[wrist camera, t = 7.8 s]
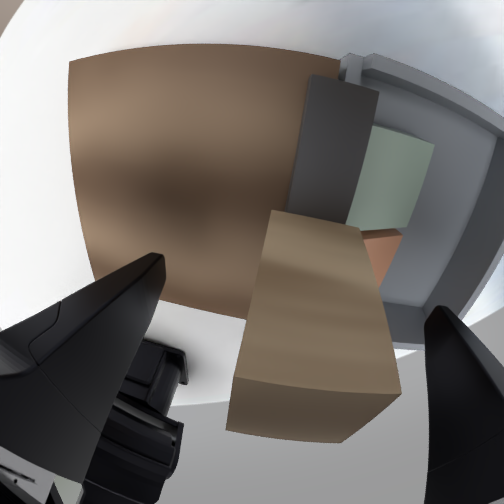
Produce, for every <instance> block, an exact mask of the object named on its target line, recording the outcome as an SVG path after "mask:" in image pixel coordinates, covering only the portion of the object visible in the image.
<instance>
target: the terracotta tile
mask: <svg viewBox="0 0 504 504" xmlns="http://www.w3.org/2000/svg"><path fill="white" fill-rule="evenodd" d="M360 232H361V235H362V237H363V240H364V243H365V246H366V249H367V252H368V255H369V258H370V262H371V265H372V268H373V271H374V275H375V278H376V281H377V285H378V288H379V287H380V285H381V283H382V281H383V279H384V277H385V275H386V272H387V270H388V268H389V266H390V264H391V262H392V260H393V258H394V255H395V253H396V251H397V249H398V246H399V244H400V242H401V239H402V237H403V235H402V234H401V233H400V232H399V231H398V230H396V229H395V228H390V229H378V230H366V231H360Z"/></svg>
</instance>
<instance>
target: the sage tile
mask: <svg viewBox="0 0 504 504" xmlns="http://www.w3.org/2000/svg"><path fill="white" fill-rule="evenodd" d="M434 146H435V145H434V144H432V143H430V142H428V141H426V140H424V139H421V138H419V137H417V136H415V135H412V134H409V133H406V132H403V131H400V130H397V129H393V128H390V127H387V126H383V125H380V124H376V123H373V126H372V130H371V134H370V139H369V143H368V147H367V151H366V155H365V159H364V162H363V166H362V170H361V174H360V177H359V181H358V184H357V188H356V191H355V195H354V198H353V202H352V205H351V208H350V211H349V215H348V218H347V221H346V224H345V225H349V226H354V227H358V228H359V229H360V231H366V230H378V229H390V228H402V227H407V225H408V222H409V220H410V217H411V215H412V212H413V210H414V207H415V204H416V202H417V199H418V196H419V193H420V190H421V188H422V185H423V182H424V179H425V176H426V173H427V169H428V166H429V163H430V160H431V156H432V153H433V149H434Z"/></svg>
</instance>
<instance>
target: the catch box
mask: <svg viewBox="0 0 504 504" xmlns="http://www.w3.org/2000/svg"><path fill="white" fill-rule="evenodd" d="M340 60H341V63H340V69H339V75H338V80H341V81H345V82H349V83H353V84H356V85H360V86H363V87H367V88H370V89H373V90H376V91H379V92H380V93H379V98H378V103H377V107H376V112H375V117H374V121H373V123H376V124H380V125H383V126H387V127H390V128H393V129H397V130H400V131H403V132H406V133H409V134H412V135H415V136H417V137H419V138H421V139H424V140H426V141H428V142H430V143H432V144H434V145H435V146H434V149H433V153H432V156H431V160H430V163H429V166H428V169H427V173H426V176H425V179H424V182H423V185H422V188H421V190H420V193H419V196H418V199H417V202H416V204H415V207H414V210H413V212H412V215H411V217H410V220H409V222H408V225H407V227H402V228H395V229H396V230H398V231H399V232H400V233H401V234H402V235H403V237H402V239H401V242H400V244H399V246H398V249H397V251H396V253H395V255H394V258H393V260H392V262H391V264H390V266H389V268H388V270H387V272H386V275H385V277H384V279H383V281H382V283H381V285H380V287H379V292H380V295H381V299H382V303H383V306H384V310H385V314H386V318H387V322H388V326H389V331H390V335H391V339H392V344H393V348H394V349H407V350H423V351H425V342H424V323H425V321H426V319H427V318H428V316H429V315H430V313H431V312H432V310H433V309H434V308H435V306H437V305H443V306H447V307H448V308H449V309H450V310H451V311H452V312H453V313H454V314H455V315H456V316H457V317H458V318H459V319H460V320H461V321H462V319H463V318H464V316H465V315H466V314H467V312H468V311H469V309H470V308H471V307H472V305H473V304H474V302H475V301H476V299H477V298H478V296H479V295H480V293H481V292H482V290H483V289H484V287H485V285H486V284H487V282H488V280H489V279H490V277H491V275H492V274H493V272H494V270H495V269H496V267H497V265H498V263H499V261H500V260H501V258H502V256H503V254H504V118H503V117H502V116H501V115H499V114H498V113H496V112H495V111H493V110H492V109H490V108H489V107H487V106H486V105H484V104H482V103H481V102H479V101H478V100H476V99H474V98H473V97H471V96H469V95H467V94H466V93H464V92H462V91H460V90H459V89H457V88H455V87H453V86H451V85H449V84H447V83H445V82H443V81H441V80H439V79H437V78H435V77H433V76H431V75H429V74H426V73H424V72H422V71H420V70H417V69H415V68H412V67H410V66H408V65H405V64H403V63H400V62H397V61H395V60H392V59H389V58H386V57H383V56H381V55H378V54H374V53H373V54H371V55H368V56H366V57H362V56H358V55H355V54H351V53H349V54H347V55H346V56H344V57H343V58H341V59H340Z"/></svg>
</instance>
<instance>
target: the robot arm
mask: <svg viewBox="0 0 504 504" xmlns="http://www.w3.org/2000/svg"><path fill="white" fill-rule="evenodd" d="M165 282H166V264H165V257H164V255H163V254H160V253H155V252H151V253H148V254H146V255H144V256H142V257H140V258H138V259H137V260H135V261H133V262H131V263H129V264H127V265H125V266H123V267H121V268H119V269H117V270H115V271H113V272H112V273H110V274H108V275H106V276H104V277H102V278H100V279H98V280H97V281H95V282H93V283H91V284H89V285H87V286H86V287H84V288H82V289H80V290H78V291H77V292H75V293H73V294H71V295H69V296H68V297H66V298H64V299H62V301H59V302H57V303H55V304H53V305H52V306H50V307H48V308H46V309H44V310H43V311H41V312H39V313H37V314H35V315H33V316H31V317H29V318H27V319H25V320H23V321H21V322H19V323H17V324H15V325H13V326H11V327H9V328H7V329H5V330H3V331H1V332H0V504H63V502H62V499H61V497H60V495H59V493H58V491H57V488H56V486H55V483H54V478H55V476H56V474H57V475H59V476H62V477H64V478H67V479H69V480H72V481H75V482H78V483H81V484H82V489H81V492H80V494H79V497H78V500H77V502H76V504H154V503H156V502H157V501H158V500H159V497H160V494H161V490H162V487H163V484H164V481H165V480H166V479H168V478H170V477H171V475H172V474H173V473H174V470H175V469H176V466H177V463H178V459H179V453H180V446H181V440H182V433H183V427H184V423H181V422H177V421H175V420H172V419H170V418H168V417H166V416H167V413H168V410H169V408H170V405H171V402H172V399H173V397H174V394H175V391H176V388H177V386H178V383H179V384H183V385H187V384H188V374H187V367H186V359H185V354H184V353H183V352H181V351H179V350H175V349H171V348H168V347H164V346H161V345H158V344H154V343H151V342H148V341H145V340H142V339H143V337H144V335H145V333H146V331H147V329H148V327H149V324H150V322H151V320H152V317H153V314H154V312H155V309H156V306H157V303H158V301H159V298H160V295H161V293H162V290H163V287H164V285H165ZM424 342H425V367H426V378H427V391H428V407H429V458H428V472H427V482H426V491H425V492H426V493H425V500H424V504H504V367H503V366H502V364H501V363H500V362H499V361H498V360H497V359H496V358H495V356H494V355H493V354H492V353H491V352H490V351H489V349H488V348H486V346H485V345H484V344H483V343H482V342H481V341H480V340H479V339H478V337H477V336H476V335H475V334H474V333H473V332H472V331H471V330H470V329H469V328H468V327H467V326H466V325H465V324H464V323H463V322H462V321H461V320H460V319H459V318H458V317H457V316H456V315H455V314H454V313H453V312H452V311H451V310H450V309H449V308H448V307H447V306H443V305H437V306H435V308H434V309H433V310H432V312H431V313H430V315H429V316H428V318H427V319H426V321H425V323H424Z"/></svg>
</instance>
